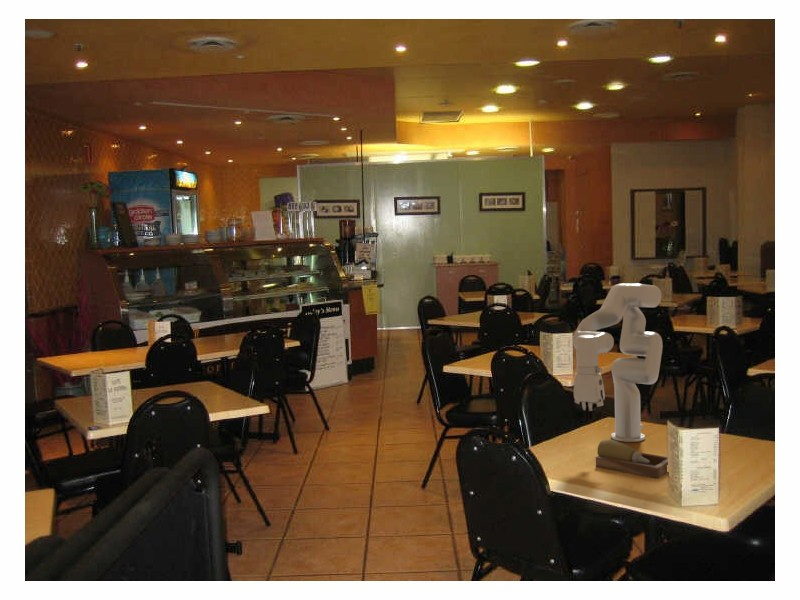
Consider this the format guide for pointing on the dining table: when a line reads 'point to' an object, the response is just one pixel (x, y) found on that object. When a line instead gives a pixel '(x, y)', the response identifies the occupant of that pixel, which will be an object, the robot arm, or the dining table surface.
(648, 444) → the dining table surface
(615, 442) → the squeeze bottle
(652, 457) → the brown wooden tray
